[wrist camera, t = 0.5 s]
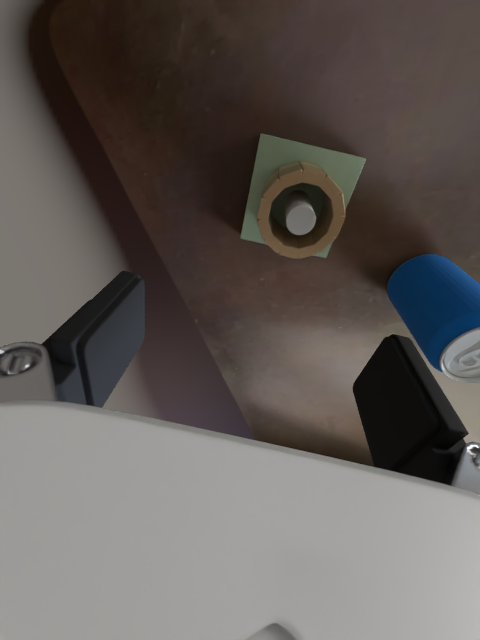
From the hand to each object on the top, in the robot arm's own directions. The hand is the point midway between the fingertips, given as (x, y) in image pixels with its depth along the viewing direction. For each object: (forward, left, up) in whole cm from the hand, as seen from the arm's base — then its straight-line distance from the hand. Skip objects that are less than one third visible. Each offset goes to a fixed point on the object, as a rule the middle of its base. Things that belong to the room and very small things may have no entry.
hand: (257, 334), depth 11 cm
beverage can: (+4, +17, -20) cm, 27 cm away
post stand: (-1, +2, -20) cm, 20 cm away
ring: (-1, +2, -19) cm, 19 cm away
